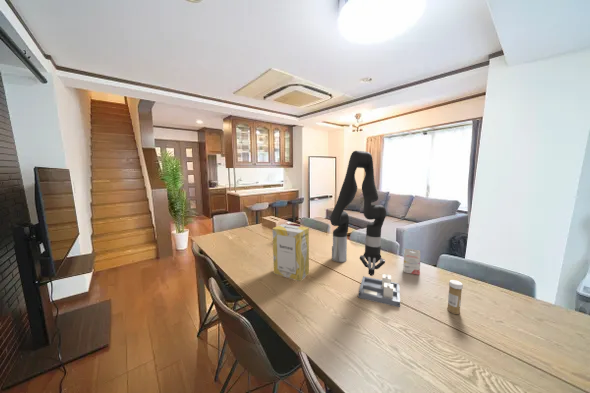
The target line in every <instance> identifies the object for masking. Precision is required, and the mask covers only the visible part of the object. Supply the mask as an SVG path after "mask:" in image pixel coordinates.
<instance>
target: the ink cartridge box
mask: <svg viewBox="0 0 590 393" xmlns="http://www.w3.org/2000/svg"><path fill="white" fill-rule="evenodd" d="M402 269H403V270H402V271H403V273H406V274H407V273H408V274H413V275H418V276H419V275H421V250H418V249H412V248H404V251H403V268H402Z"/></svg>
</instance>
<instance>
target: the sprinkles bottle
mask: <svg viewBox="0 0 590 393" xmlns="http://www.w3.org/2000/svg"><path fill="white" fill-rule="evenodd" d="M448 285H449V287H448V288H449V289H448V295H447V296H448V298H447V307H446V310H447V311H448V312H450V313H451V314H453V315H460V313H461V304H462V293H463V292H462V291H463V290H462V289H463V285H464V284H463V283H462V282H461V281H459V280H456V279H450V280H449V284H448Z"/></svg>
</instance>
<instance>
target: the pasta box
mask: <svg viewBox="0 0 590 393" xmlns="http://www.w3.org/2000/svg"><path fill="white" fill-rule="evenodd" d="M309 231H310V230H309V227H304V226H301V227H299V226H293V225H288V224H284V223H281V224H279V225H277V226H274V227H273V228H272V255H273V256H272V259H273V260H272V261H273V263H272V264H273V274H274V275H276V276H280V277H283V278H287V279H290V280H294V281H297V282H302V281H303V280H304V279H305V278H306V277H307V276H308V275H309V273H310V240H309V239H310V232H309Z"/></svg>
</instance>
